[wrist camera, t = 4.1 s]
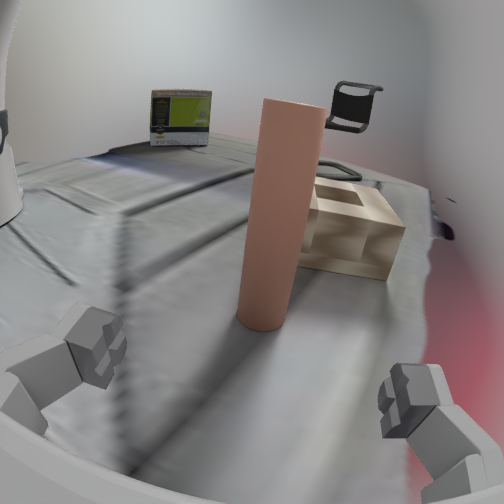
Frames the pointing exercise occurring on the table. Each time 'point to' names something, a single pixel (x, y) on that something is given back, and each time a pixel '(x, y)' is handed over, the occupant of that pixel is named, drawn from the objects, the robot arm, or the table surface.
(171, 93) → the tea box
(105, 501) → the robot arm
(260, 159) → the dowel
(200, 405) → the table surface
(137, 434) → the table surface
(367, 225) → the socket block
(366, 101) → the chair
